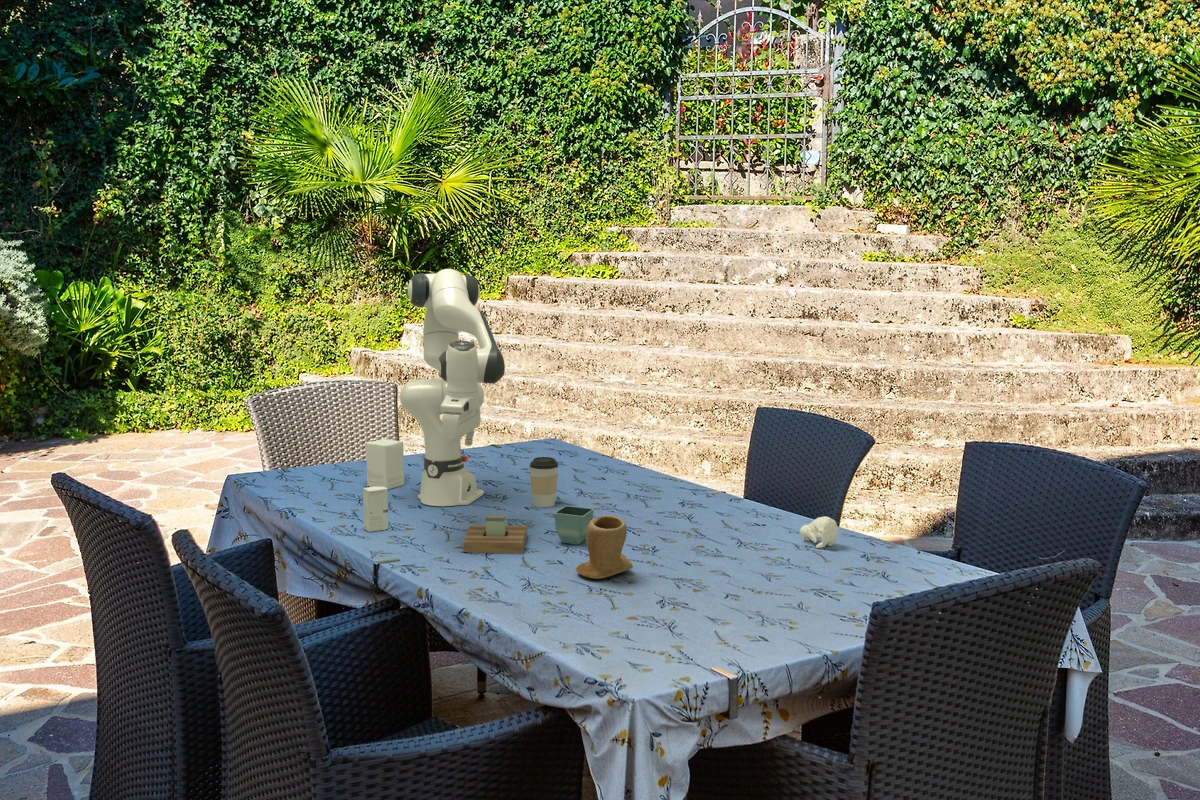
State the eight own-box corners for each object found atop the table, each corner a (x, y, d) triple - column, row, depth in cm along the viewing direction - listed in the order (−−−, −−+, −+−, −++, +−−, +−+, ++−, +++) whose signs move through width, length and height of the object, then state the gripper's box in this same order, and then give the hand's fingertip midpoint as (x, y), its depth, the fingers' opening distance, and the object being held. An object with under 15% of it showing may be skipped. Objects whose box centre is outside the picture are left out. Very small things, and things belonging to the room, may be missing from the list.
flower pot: (594, 539, 306) (594, 508, 304) (583, 548, 297) (583, 516, 296) (564, 535, 309) (564, 505, 307) (553, 544, 300) (553, 512, 299)
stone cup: (601, 586, 266) (601, 527, 264) (569, 574, 275) (569, 517, 273) (645, 573, 277) (646, 516, 274) (613, 562, 285) (614, 507, 283)
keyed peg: (487, 542, 302) (487, 514, 300) (505, 542, 302) (505, 514, 300) (486, 546, 298) (485, 517, 297) (504, 546, 298) (504, 517, 297)
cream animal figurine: (823, 520, 296) (793, 514, 306) (824, 551, 296) (793, 543, 306) (840, 516, 299) (809, 510, 309) (841, 547, 300) (810, 540, 310)
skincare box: (368, 532, 309) (367, 491, 307) (363, 528, 313) (361, 487, 311) (389, 529, 313) (388, 488, 311) (383, 525, 316) (382, 485, 314)
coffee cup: (524, 506, 339) (524, 459, 337) (536, 499, 347) (537, 453, 345) (550, 509, 336) (551, 462, 333) (562, 502, 344) (563, 456, 342)
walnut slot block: (470, 535, 308) (470, 525, 307) (526, 536, 308) (526, 525, 307) (463, 552, 292) (463, 541, 291) (522, 553, 292) (522, 542, 291)
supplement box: (405, 485, 364) (404, 441, 362) (386, 490, 357) (385, 445, 354) (385, 481, 369) (384, 438, 367) (366, 486, 362) (365, 442, 359)
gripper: (465, 392, 311) (465, 439, 314) (438, 406, 291) (438, 456, 294) (485, 394, 310) (486, 441, 312) (460, 408, 290) (460, 458, 293)
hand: (462, 449), depth 303 cm, fingers open, 8 cm apart
